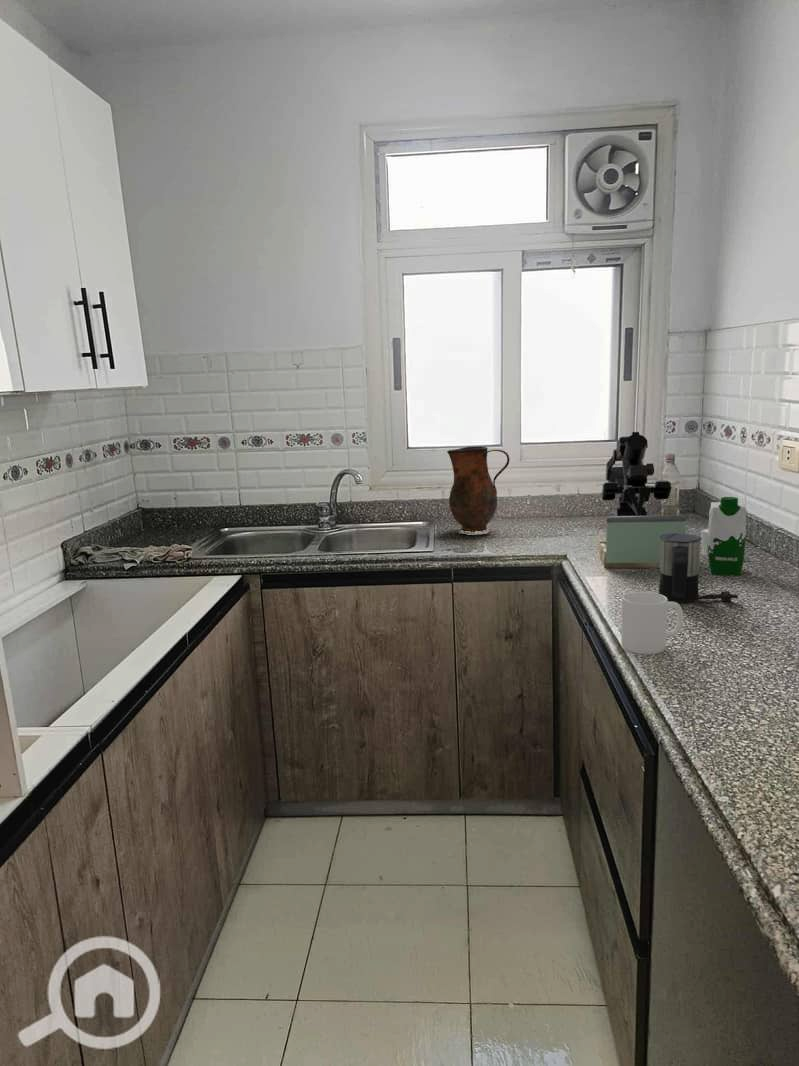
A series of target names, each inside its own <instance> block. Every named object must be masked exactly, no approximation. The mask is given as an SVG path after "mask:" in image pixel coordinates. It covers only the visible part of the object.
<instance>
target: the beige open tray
mask: <svg viewBox="0 0 799 1066" xmlns="http://www.w3.org/2000/svg"><path fill="white" fill-rule="evenodd" d="M599 559H600V561H602V562H601V564H602V563H603V564H602V566H603V565H604V566H603V568H604V567H611V568H610V569H620V568H621V569H626V568H627V569H631V568H632V569H636V568H639V569H642V568H644V569H645V568H646V569H648V568H649V569H651V568H652V569H653V568H654V569H655V568H657V569H660V563H606V540H599ZM612 567H613V568H612Z"/></svg>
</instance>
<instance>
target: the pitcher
mask: <svg viewBox="0 0 799 1066" xmlns="http://www.w3.org/2000/svg"><path fill="white" fill-rule="evenodd" d="M491 452H499V453H503V454H504V455H505V456H506V459H507V460H506V463H505V464H504V466H503V467H502V468H501V469H500V470H499V471H498V472H497V473H496V474H495V476H494V478H493V480H492V478H491V475H490V473H489V468H488V453H491ZM446 453H447V454H448V457H449V459H450V462H451V465H452V471H453V485H452V486H451V490H450V492H449V498H448V504H449V510H450V513H451V515H452V516H453V519H454V520H455V521H456V522H457V523H458V524H459V525H460V526H461V529H460V530H463V531H471V532H472V531H473V532H475V531H483V530H486V529H488V528H487V525H488V524H489V523H490V522H491V520H492V519H493V517H495V516H494V515H495V513H496V511H497V507H498V500H499V499H498V492H497V491H498V490H497V488H496V484H495V482H496V480H497V478H498V477H499V476H500V475H501V474H502V473H503V472H504V470H506V469H507V467H508V466H509V464H510V461H511V460H510V456H509V454H508V452H507V451H505V450H503V449H490V450H488V447H486V446H479V445H478V446H476V445H475V446H465V447H461V448H457V449H449V450H447V452H446Z"/></svg>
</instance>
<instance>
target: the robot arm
mask: <svg viewBox="0 0 799 1066" xmlns="http://www.w3.org/2000/svg"><path fill="white" fill-rule="evenodd" d="M647 449H648V439H647V438H646V437H645V436H644V435H642V434H640V431H632V432H631V435H629V436H620V437H619V438H618V440H616V448H615V449H613V451H612V456H611V458H610V459H609V460H608V461H607V463H606V465H605V466H606V468H605V469H606V470H605V480H606V482H604V483H603V484H602V489H601V499H602V501H615V499H616V498H617V500H618V502H617V507H616V508H615V512H614V516H648V512H647V509H646V507H645V506H644V504H645V503H646V502H649V500H650V496H651V494H653V498H654V499H656V500H668V499H669V497H670V494H671V490H672V483H671V482H670V481H668V480H656V481H655V484H654V485H647V483H648V477H649V476H650V477H651V476H653V475H655V465H654V463H653V462H652V463H651V462H650V463H646V464H644V463H643V460H644V458H645V455H646V451H647ZM616 462H622V464H621V465H622V466H614V465H615V464H616ZM616 495H617V497H616ZM636 495H638V496H636Z"/></svg>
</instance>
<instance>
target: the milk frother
mask: <svg viewBox="0 0 799 1066" xmlns="http://www.w3.org/2000/svg"><path fill="white" fill-rule="evenodd" d="M660 538H661V551H660V568H659V584H658V593H657V594H661V595H663V596H665V597H667V599H668V602H676V603H681V604H682V603H694V602H696V601H699V600H716V599H718V600H719V599H721V601H722V603H724V604H725V603H730V602H731V601H732V600H731V599H738V598H739V596H738V594H732V593H731V592H730V591H729V590H726V591H725V590H724V591H721V592H720V593H711V594H706V595H705V594H704V595H701V596H700V595H699V576H700V575H699V574H700V568H699V567H700V552H701V550H700V549H701V547H700V545H701V539H702V538H701V535H697V534H692V533H686V534H678V533H672V534H664V535H661V536H660Z"/></svg>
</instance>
